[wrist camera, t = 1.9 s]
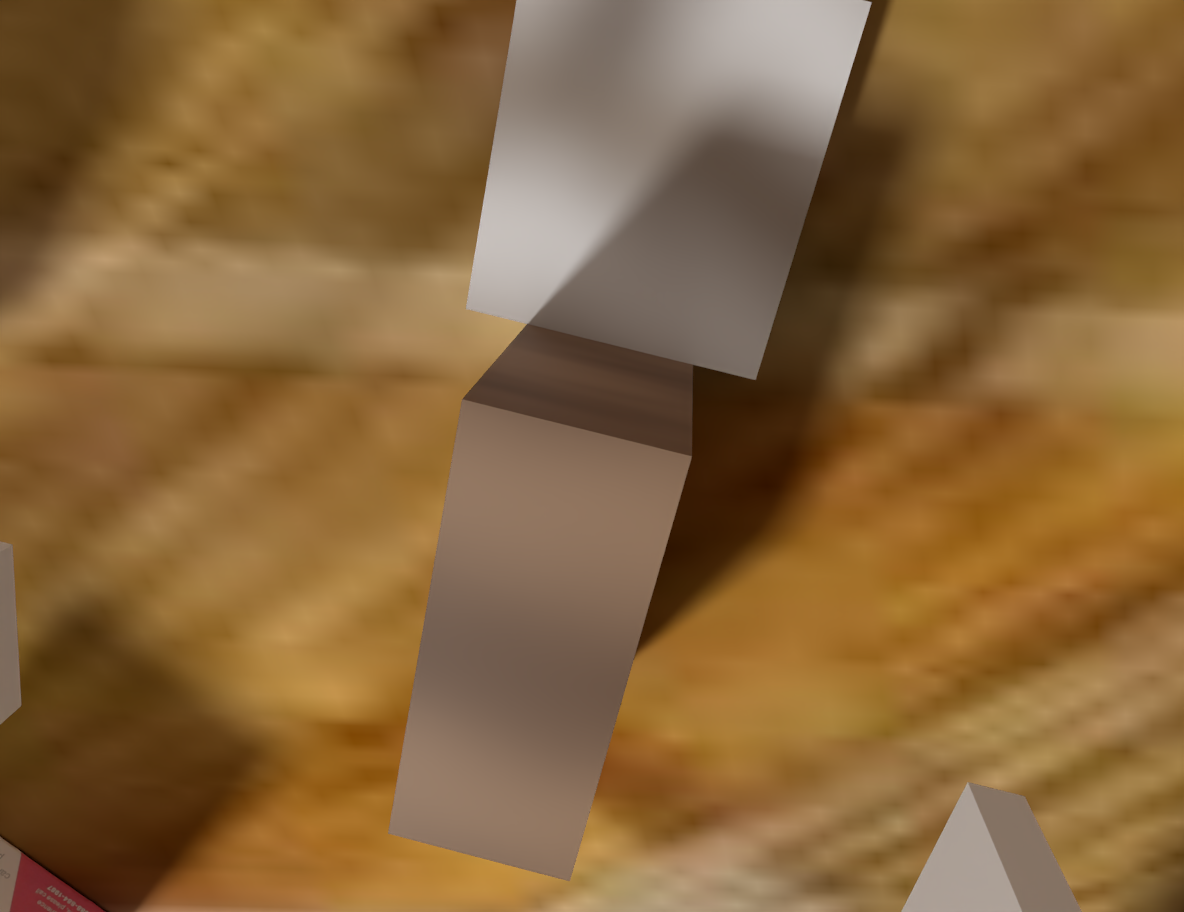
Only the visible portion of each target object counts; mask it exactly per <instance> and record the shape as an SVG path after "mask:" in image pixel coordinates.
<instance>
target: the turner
mask: <svg viewBox="0 0 1184 912" xmlns="http://www.w3.org/2000/svg"><path fill="white" fill-rule="evenodd" d="M871 3H872V2H869V1H864V0H517V2H516V8H515V14H514V20H513V27H512V33H511V39H510V45H509V51H508V57H507V63H506V69H505V75H504V81H503V87H502V93H501V99H500V105H499V111H498V117H497V123H496V129H495V136H494V142H493V148H492V154H491V160H490V166H489V172H488V178H487V184H486V190H485V196H484V202H483V208H482V214H481V220H480V226H479V232H478V238H477V245H476V251H475V257H474V263H473V269H472V275H471V281H470V287H469V293H468V299H467V305H466V309H469V310H473V311H477V312H481V313H485V314H489V315H493V316H497V317H501V318H505V319H509V320H513V321H517V322H521V323H526V324H527V325H526V326H525V327H524V329H523V330H522V331H521V332H520V333H519V334H518V336H517V337H516V338H515V339H514V340H513V341H512V342H511V344H510V345H509V346H508V347H507V348H506V349H505V351H504V352H503V353H502V354H501V355H500V356H499V357H498V359H497V360H496V361H495V362H494V363H493V364H492V366H491V367H490V368H489V369H488V370H487V371H486V372H485V374H484V375H483V376H482V377H481V378H480V379H479V381H478V382H477V383H476V384H475V385H474V386H473V387H472V389H471V390H470V391H469V392H468V393H467V394H466V395H465V397H464V398H463V399H462V404H461V409H460V415H459V421H458V427H457V433H456V439H455V445H454V450H453V456H452V462H451V468H450V474H449V480H448V486H447V492H446V497H445V503H444V509H443V515H442V521H441V527H440V533H439V538H438V544H437V550H436V556H435V562H434V568H433V574H432V579H431V585H430V591H429V597H428V603H427V609H426V615H425V621H424V626H423V632H422V638H421V644H420V650H419V656H418V662H417V667H416V673H415V679H414V685H413V691H412V697H411V703H410V709H409V714H408V720H407V726H406V732H405V738H404V744H403V750H402V755H401V761H400V767H399V773H398V779H397V785H396V791H395V796H394V802H393V808H392V814H391V820H390V826H389V832H388V834H392V835H396V836H400V837H404V838H407V839H411V840H415V841H419V842H423V843H426V844H430V845H434V846H438V847H442V848H445V849H449V850H453V851H457V852H461V853H464V854H468V855H472V856H476V857H480V858H483V859H487V860H491V861H495V862H499V863H502V864H506V865H510V866H514V867H518V868H521V869H525V870H529V871H533V872H537V873H540V874H544V875H548V876H552V877H556V878H559V879H563V880H567V881H570V879H571V875H572V872H573V868H574V865H575V861H576V858H577V854H578V851H579V847H580V844H581V840H582V837H583V833H584V830H585V827H586V823H587V820H588V816H589V813H590V809H591V806H592V802H593V799H594V795H595V792H596V788H597V785H598V781H599V778H600V774H601V771H602V767H603V764H604V760H605V757H606V754H607V750H608V747H609V743H610V740H611V736H612V733H613V729H614V726H615V722H616V719H617V715H618V712H619V708H620V705H621V701H622V698H623V694H624V691H625V688H626V684H627V681H628V677H629V674H630V670H631V667H632V663H633V660H634V656H635V653H636V649H637V646H638V642H639V639H640V635H641V632H642V628H643V625H644V622H645V618H646V615H647V611H648V608H649V604H650V601H651V597H652V594H653V590H654V587H655V583H656V580H657V576H658V573H659V569H660V566H661V562H662V559H663V556H664V552H665V549H666V545H667V542H668V538H669V535H670V531H671V528H672V524H673V521H674V517H675V514H676V510H677V507H678V503H679V500H680V496H681V493H682V489H683V486H684V483H685V479H686V476H687V472H688V469H689V465H690V462H691V458H692V414H693V365H696V366H700V367H704V368H708V369H712V370H717V371H721V372H725V373H729V374H733V375H737V376H741V377H745V378H749V379H753V380H756V377H757V374H758V371H759V367H760V364H761V361H762V358H763V354H764V351H765V348H766V345H767V341H768V338H769V335H770V332H771V328H772V325H773V322H774V319H775V315H776V312H777V309H778V306H779V302H780V299H781V296H782V293H783V289H784V286H785V283H786V280H787V276H788V273H789V270H790V267H791V263H792V260H793V257H794V254H795V250H796V247H797V244H798V241H799V237H800V234H801V231H802V228H803V224H804V221H805V218H806V215H807V211H808V208H809V205H810V202H811V198H812V195H813V192H814V189H815V185H816V182H817V179H818V176H819V172H820V169H821V166H822V163H823V159H824V156H825V153H826V149H827V146H828V143H829V140H830V136H831V133H832V130H833V127H834V123H835V120H836V117H837V114H838V110H839V107H840V104H841V101H842V97H843V94H844V91H845V88H846V84H847V81H848V78H849V75H850V71H851V68H852V65H853V62H854V58H855V55H856V52H857V49H858V45H859V42H860V39H861V36H862V32H863V29H864V26H865V23H866V19H867V16H868V13H869V10H870V6H871Z"/></svg>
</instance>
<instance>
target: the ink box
mask: <svg viewBox="0 0 1184 912" xmlns="http://www.w3.org/2000/svg"><path fill="white" fill-rule="evenodd" d="M0 912H105V911H104V910H102V909H101V908H100V907H98V906H97V905H96V904H95V903H93V902H92V901H90V900H88V899H87V898H85V897H84V896H82V895H81V894H79V893H78V892H77V891H75V890H74V889H72V888H71V887H70V886H68V885H67V884H65V883H64V882H62V881H61V880H60V879H58V878H57V877H55V876H54V875H52V874H51V873H50V872H48V871H47V870H46V869H44V868H43V867H41V866H40V865H38V864H37V863H36V862H34V861H33V860H31V859H30V858H28V857H27V856H26V855H25V854H23V853H22V852H21V851H19V850H18V849H17V848H15V847H14V846H12V845H11V844H10V843H8V842H7V841H5V840H4V839H3V838H1V837H0Z"/></svg>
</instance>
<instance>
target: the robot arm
mask: <svg viewBox="0 0 1184 912" xmlns="http://www.w3.org/2000/svg"><path fill="white" fill-rule="evenodd" d="M20 707H21V688H20V670H19V652H18V635H17V617H16V599H15V582H14V564H13V546H12V544H8V543H4V542H0V724H1V723H3V722H4V721H5V720H6V719H7V718H8V717H9V716H10V715H12V714H13V713H14V712H15V711H16V710H17V709H18V708H20ZM902 912H1082V911H1081V909H1080V907H1079V905H1078V903H1077V901H1076V899H1075V897H1074V895H1073V893H1072V891H1071V889H1070V887H1069V885H1068V883H1067V881H1066V879H1065V877H1064V875H1063V873H1062V871H1061V869H1060V867H1059V865H1058V863H1057V861H1056V859H1055V857H1054V855H1053V853H1052V851H1051V849H1050V847H1049V845H1048V843H1047V841H1046V839H1045V837H1044V835H1043V833H1042V831H1041V829H1040V827H1039V825H1038V823H1037V821H1036V819H1035V817H1034V815H1033V813H1032V811H1031V809H1030V806H1029V804H1028V802H1027V800H1026V798H1025V796H1021V795H1017V794H1013V793H1009V792H1005V791H1001V790H997V789H993V788H989V787H985V786H981V785H977V784H973V783H969V782H968V783H967V785H966V787H965V789H964V791H963V792H962V794H961V796H960V798H959V800H958V802H957V804H956V806H955V808H954V810H953V812H952V814H951V816H950V818H949V820H948V822H947V824H946V826H945V828H944V830H943V832H942V833H941V835H940V837H939V839H938V841H937V843H936V845H935V847H934V849H933V851H932V853H931V855H930V857H929V859H928V861H927V863H926V865H925V867H924V869H923V871H922V873H921V874H920V876H919V878H918V880H917V882H916V884H915V886H914V888H913V890H912V892H911V894H910V896H909V898H908V900H907V902H906V904H905V906H904V908H903V910H902Z"/></svg>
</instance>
